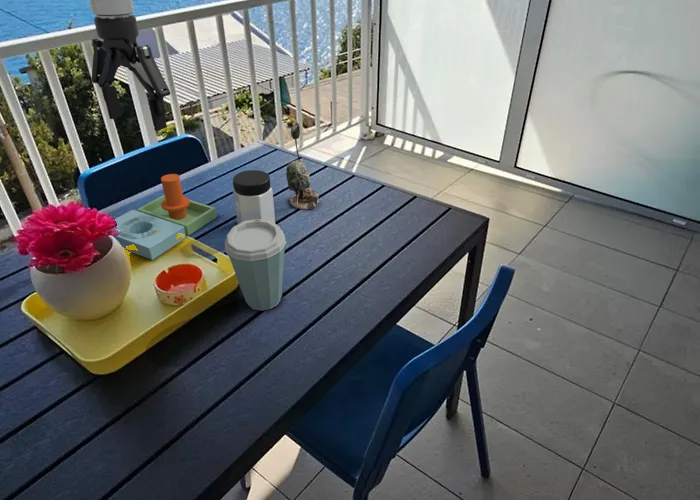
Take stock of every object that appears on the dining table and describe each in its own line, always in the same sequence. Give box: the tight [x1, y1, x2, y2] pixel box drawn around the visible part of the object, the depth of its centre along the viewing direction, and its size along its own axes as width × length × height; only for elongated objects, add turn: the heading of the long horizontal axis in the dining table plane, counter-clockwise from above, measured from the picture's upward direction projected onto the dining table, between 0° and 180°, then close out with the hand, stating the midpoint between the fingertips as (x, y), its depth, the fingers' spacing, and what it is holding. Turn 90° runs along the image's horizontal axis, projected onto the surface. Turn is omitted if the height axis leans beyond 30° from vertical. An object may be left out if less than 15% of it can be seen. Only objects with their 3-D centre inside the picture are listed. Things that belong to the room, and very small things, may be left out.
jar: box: [232, 169, 276, 225], centre depth 114 cm, size 9×8×12 cm
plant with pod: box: [284, 121, 320, 210], centre depth 120 cm, size 8×11×20 cm
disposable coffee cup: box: [224, 219, 287, 312], centre depth 90 cm, size 11×11×15 cm
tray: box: [136, 194, 218, 236], centre depth 118 cm, size 16×10×3 cm, turn 62°
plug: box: [160, 173, 190, 220], centre depth 116 cm, size 6×6×10 cm
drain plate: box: [114, 209, 187, 261], centre depth 110 cm, size 16×10×3 cm, turn 62°
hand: (137, 123), depth 107 cm, fingers open, 13 cm apart
